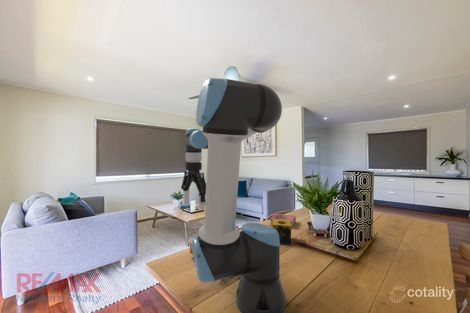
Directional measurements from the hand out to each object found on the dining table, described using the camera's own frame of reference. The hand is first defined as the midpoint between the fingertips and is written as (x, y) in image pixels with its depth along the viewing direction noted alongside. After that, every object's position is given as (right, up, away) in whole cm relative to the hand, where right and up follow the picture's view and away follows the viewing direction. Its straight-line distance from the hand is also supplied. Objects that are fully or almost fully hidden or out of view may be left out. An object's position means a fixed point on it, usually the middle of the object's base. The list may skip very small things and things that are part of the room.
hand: (193, 206), depth 97 cm
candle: (+45, -22, +13) cm, 52 cm away
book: (+52, -22, +41) cm, 70 cm away
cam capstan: (+5, -19, -1) cm, 20 cm away
